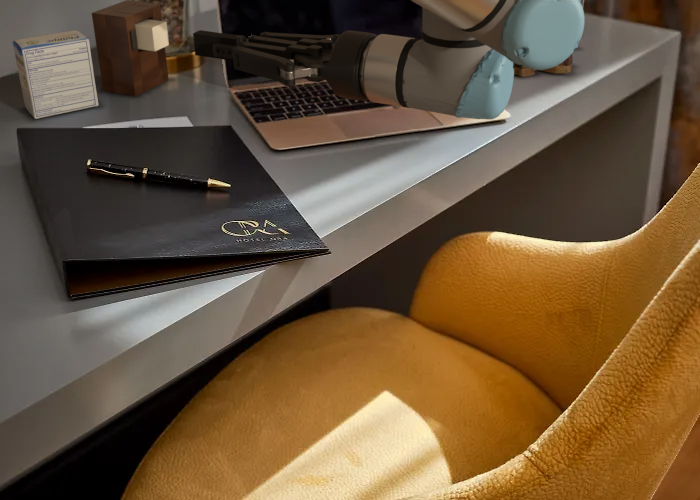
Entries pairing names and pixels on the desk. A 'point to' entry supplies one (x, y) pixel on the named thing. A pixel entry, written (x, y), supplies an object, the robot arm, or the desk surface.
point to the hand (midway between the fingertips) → (197, 42)
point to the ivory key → (152, 35)
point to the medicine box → (56, 73)
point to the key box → (127, 49)
